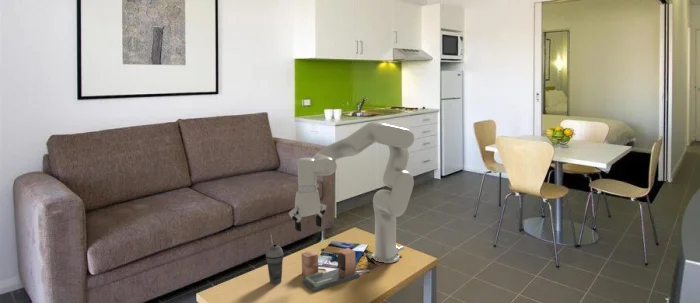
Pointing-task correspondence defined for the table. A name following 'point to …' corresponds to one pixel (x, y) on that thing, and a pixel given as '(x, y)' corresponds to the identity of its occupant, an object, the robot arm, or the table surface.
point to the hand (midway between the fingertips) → (308, 228)
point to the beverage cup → (274, 263)
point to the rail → (334, 272)
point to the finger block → (309, 263)
